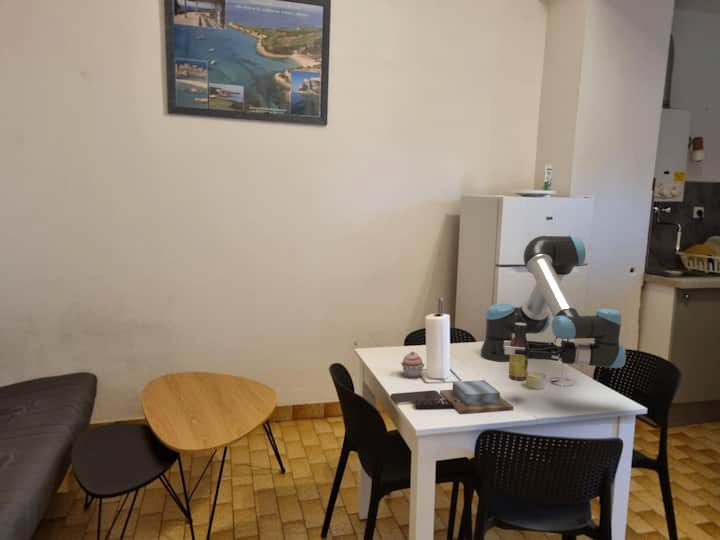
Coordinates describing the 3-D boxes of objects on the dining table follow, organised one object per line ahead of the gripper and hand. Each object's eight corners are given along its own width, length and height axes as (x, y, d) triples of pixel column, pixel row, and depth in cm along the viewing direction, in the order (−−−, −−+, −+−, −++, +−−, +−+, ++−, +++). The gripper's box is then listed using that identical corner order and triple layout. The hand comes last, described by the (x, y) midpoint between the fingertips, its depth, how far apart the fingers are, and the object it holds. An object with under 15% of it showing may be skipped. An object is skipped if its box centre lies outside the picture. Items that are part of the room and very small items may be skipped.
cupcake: (395, 375, 204) (396, 351, 202) (409, 370, 211) (410, 346, 209) (414, 381, 198) (415, 356, 196) (428, 375, 205) (429, 351, 203)
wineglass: (574, 381, 200) (578, 331, 198) (570, 387, 194) (574, 336, 191) (553, 377, 205) (557, 328, 202) (548, 383, 198) (552, 332, 196)
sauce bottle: (527, 383, 177) (531, 327, 174) (509, 381, 178) (512, 325, 175) (525, 376, 184) (529, 322, 180) (507, 374, 185) (510, 320, 182)
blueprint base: (488, 390, 190) (489, 376, 189) (513, 410, 172) (514, 395, 172) (439, 393, 186) (440, 379, 185) (459, 414, 168) (460, 398, 168)
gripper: (578, 373, 167) (504, 366, 172) (568, 355, 185) (502, 349, 190) (580, 350, 166) (506, 344, 171) (570, 335, 184) (503, 329, 189)
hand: (504, 347), depth 181 cm, fingers closed on sauce bottle, 6 cm apart
